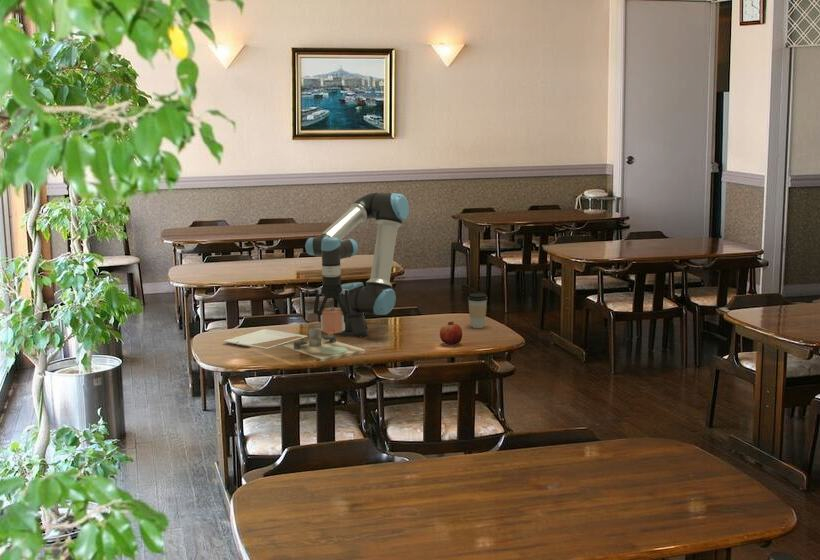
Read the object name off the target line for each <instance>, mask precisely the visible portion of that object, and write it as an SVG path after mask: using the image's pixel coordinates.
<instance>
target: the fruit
mask: <svg viewBox="0 0 820 560" xmlns="http://www.w3.org/2000/svg"><path fill="white" fill-rule="evenodd" d="M439 337H440V340H441V341H442V342H443V343H444V344H446V345H451V346H452V345H453V346H455V345H458V344H459V343H461V342H462V340H463V329H462V327H461V326H460V325H459V324H457V323H455V322H454V321H448V322H447V324H444V325H442V327H440V330H439Z"/></svg>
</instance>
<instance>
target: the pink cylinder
mask: <svg viewBox="0 0 820 560" xmlns="http://www.w3.org/2000/svg"><path fill="white" fill-rule="evenodd" d="M342 314H343V312H342V310H341V308H338V307H335V306H334V307H327V308H325V307H324V309H323V310H322V324H323V331H322V332H323V333H325V334H327V336H328V335H334V334H335V333H340V332H342Z"/></svg>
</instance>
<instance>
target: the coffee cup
mask: <svg viewBox="0 0 820 560" xmlns="http://www.w3.org/2000/svg"><path fill="white" fill-rule="evenodd" d="M488 300H489V297H488V296H487V293H481V292H478V293H477V292H475V293H469V294H468V297H467V301H468V311H469V318H470V327H471V328H472V327H473V329H483V328H485V323H486V317H487V316H486V315H487V308H488V305H487V303H488Z"/></svg>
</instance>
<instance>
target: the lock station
mask: <svg viewBox="0 0 820 560" xmlns="http://www.w3.org/2000/svg"><path fill="white" fill-rule="evenodd" d="M336 337H337V336H336V335H334V334H333V335H328V334H327V335H324V336H322V331H321V327H311V328H310V327H309V328H308V340H303V339H301V340H296V341H293V343H287V344H283V345H282V347H283V348H284V347H285V348H287V349H289V350H293V351H296V352H298V353H302V354H305V355H308V356H310V357H313V358H316V361H317V362H320V363H323V362H328V361H333V360H337V359H344V358H347V357H352V356H355V355H361V354H365V353H366V351H367V350H366V349H363V348H361V347H358V346H354V345H351V344H348V343H344V342H342V341H339V340H337V338H336ZM326 347H344V348H347V352H346V353H343V354H335V355H329V354H323V353H321V349H323V348H326Z"/></svg>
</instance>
